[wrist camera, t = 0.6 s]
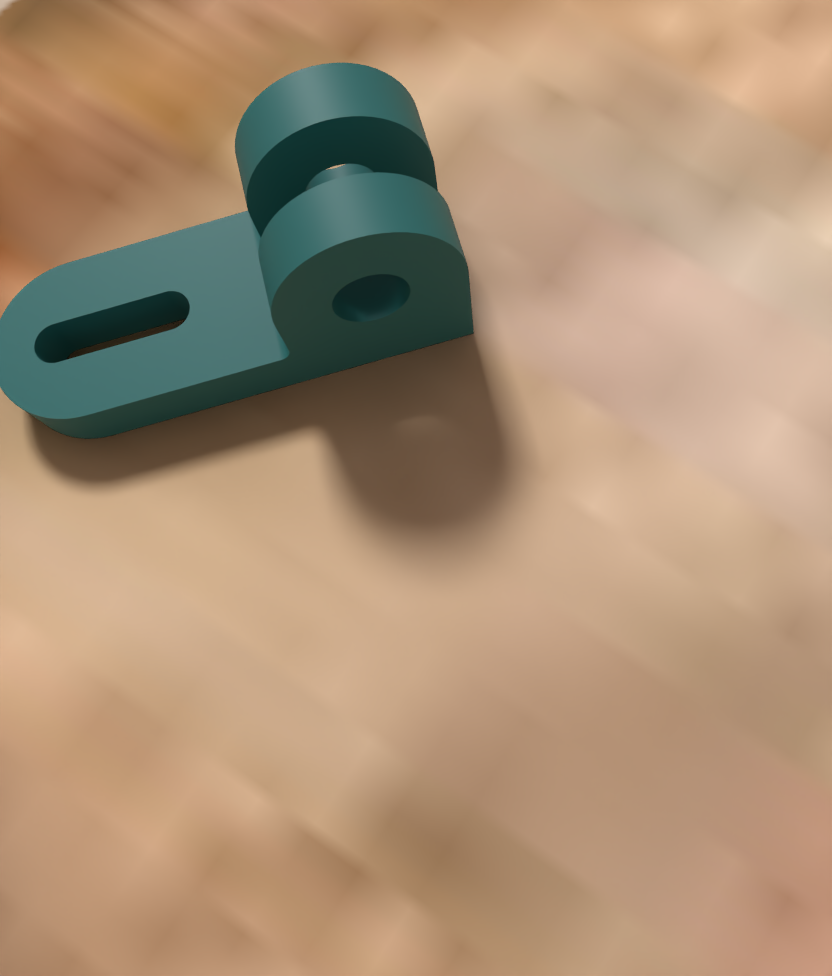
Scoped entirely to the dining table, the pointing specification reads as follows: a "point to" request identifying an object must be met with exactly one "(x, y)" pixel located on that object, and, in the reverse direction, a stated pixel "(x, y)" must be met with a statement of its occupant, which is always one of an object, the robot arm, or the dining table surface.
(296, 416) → the dining table surface
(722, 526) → the dining table surface
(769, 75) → the dining table surface
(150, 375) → the bracket
